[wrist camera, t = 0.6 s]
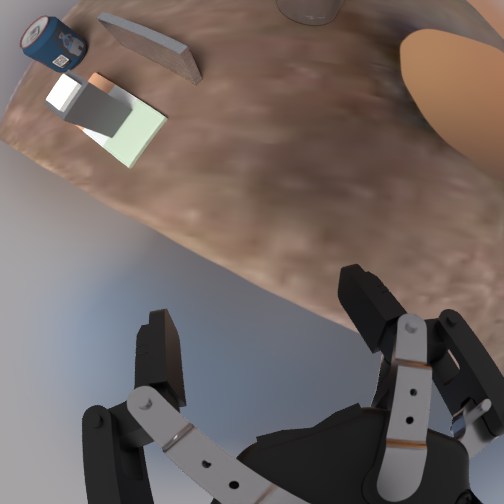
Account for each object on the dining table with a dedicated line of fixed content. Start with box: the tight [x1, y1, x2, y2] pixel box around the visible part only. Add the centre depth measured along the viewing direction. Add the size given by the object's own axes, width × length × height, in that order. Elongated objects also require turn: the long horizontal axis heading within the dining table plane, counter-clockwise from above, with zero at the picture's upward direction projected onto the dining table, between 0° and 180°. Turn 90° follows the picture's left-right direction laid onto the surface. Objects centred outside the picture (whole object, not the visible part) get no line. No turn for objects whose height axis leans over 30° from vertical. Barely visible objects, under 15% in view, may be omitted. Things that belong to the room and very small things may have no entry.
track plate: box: [76, 73, 168, 168], centre depth 30 cm, size 16×8×1 cm, turn 52°
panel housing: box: [97, 12, 202, 86], centre depth 24 cm, size 16×1×9 cm, turn 52°
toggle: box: [45, 69, 132, 138], centre depth 23 cm, size 4×4×12 cm
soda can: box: [20, 16, 86, 73], centre depth 22 cm, size 7×7×12 cm
